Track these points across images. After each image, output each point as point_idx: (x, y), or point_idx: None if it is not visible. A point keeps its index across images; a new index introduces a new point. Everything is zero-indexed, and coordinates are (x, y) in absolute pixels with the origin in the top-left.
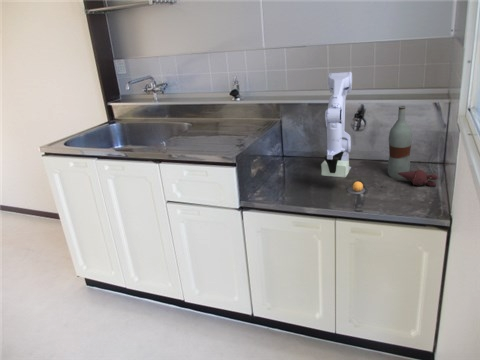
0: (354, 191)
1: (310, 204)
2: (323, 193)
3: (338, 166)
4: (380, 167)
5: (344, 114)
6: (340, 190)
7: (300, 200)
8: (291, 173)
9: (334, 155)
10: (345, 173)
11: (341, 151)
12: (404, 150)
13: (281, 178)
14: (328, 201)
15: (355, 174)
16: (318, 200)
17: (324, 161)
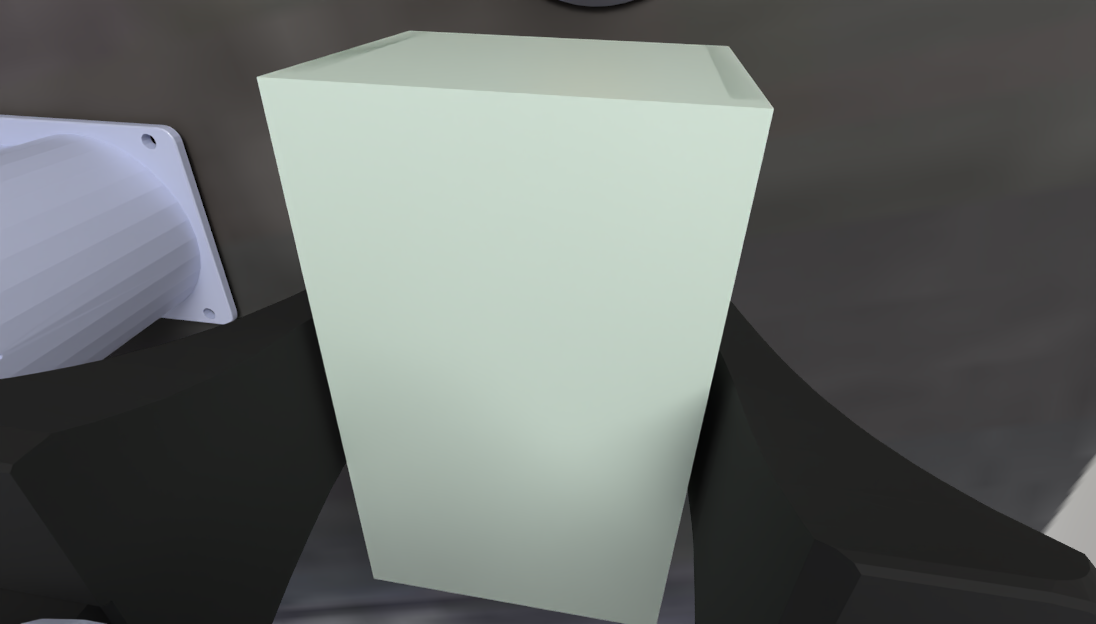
0: None
1: (1065, 365)
2: (749, 285)
3: (718, 312)
4: None
5: None
6: None
7: (939, 459)
8: (371, 569)
9: (272, 544)
10: (726, 59)
11: (69, 527)
12: None
13: (485, 611)
14: (1003, 188)
15: (79, 4)
16: (956, 304)
17: (490, 589)
